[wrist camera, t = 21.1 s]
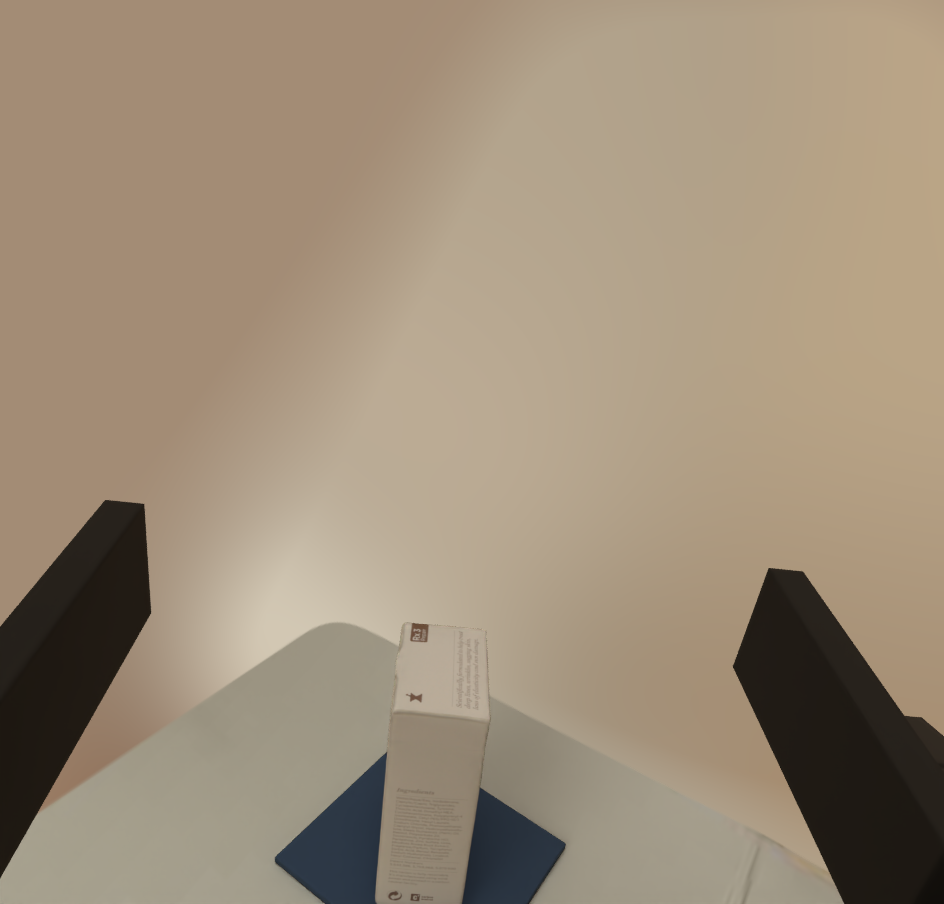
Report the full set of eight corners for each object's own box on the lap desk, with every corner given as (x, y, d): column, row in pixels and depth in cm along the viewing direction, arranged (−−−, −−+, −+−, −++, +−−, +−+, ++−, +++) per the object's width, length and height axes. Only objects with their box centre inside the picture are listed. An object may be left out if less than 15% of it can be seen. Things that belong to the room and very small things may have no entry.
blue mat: (274, 862, 38) (275, 856, 37) (402, 741, 45) (402, 736, 45) (456, 1013, 33) (458, 1007, 32) (564, 848, 40) (566, 843, 40)
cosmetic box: (463, 915, 36) (500, 724, 31) (368, 908, 36) (389, 714, 30) (464, 804, 41) (495, 626, 36) (381, 796, 41) (401, 617, 36)
